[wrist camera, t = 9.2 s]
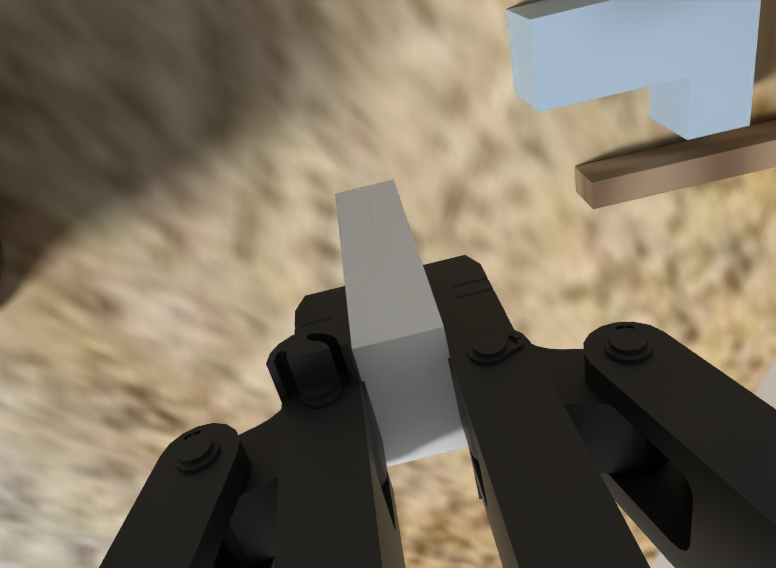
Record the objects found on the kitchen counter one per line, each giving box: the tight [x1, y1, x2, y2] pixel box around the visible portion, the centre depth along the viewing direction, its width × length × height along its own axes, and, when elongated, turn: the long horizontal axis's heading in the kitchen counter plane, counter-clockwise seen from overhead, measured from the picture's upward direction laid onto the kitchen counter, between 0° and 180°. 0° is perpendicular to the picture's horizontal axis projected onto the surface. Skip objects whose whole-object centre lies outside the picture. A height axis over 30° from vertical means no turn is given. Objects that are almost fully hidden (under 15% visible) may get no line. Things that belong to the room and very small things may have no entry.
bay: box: [575, 120, 776, 209], centre depth 29 cm, size 13×16×2 cm
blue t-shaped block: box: [506, 0, 761, 140], centre depth 29 cm, size 10×10×4 cm
